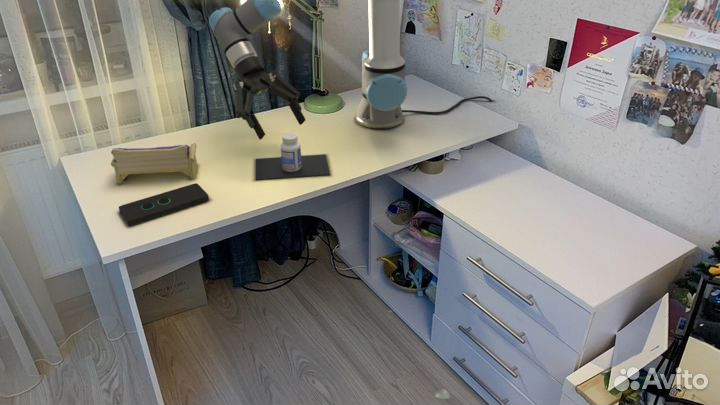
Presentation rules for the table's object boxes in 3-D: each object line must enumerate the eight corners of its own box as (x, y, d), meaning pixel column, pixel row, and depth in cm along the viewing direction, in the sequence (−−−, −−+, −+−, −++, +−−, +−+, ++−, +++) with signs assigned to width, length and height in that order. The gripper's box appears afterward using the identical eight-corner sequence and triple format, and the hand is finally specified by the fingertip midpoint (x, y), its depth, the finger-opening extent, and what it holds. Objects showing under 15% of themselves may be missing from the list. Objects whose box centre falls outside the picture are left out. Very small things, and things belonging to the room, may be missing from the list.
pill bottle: (294, 161, 159) (292, 129, 154) (305, 168, 156) (303, 136, 151) (278, 167, 156) (275, 135, 151) (289, 174, 153) (286, 142, 148)
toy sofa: (199, 164, 158) (194, 131, 153) (197, 179, 151) (191, 145, 146) (122, 169, 156) (113, 136, 150) (115, 185, 148) (106, 150, 143)
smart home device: (117, 205, 137) (196, 181, 147) (119, 211, 137) (197, 187, 147) (127, 221, 131) (209, 195, 141) (129, 227, 132) (210, 201, 142)
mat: (325, 155, 163) (325, 154, 163) (330, 175, 153) (330, 174, 153) (255, 159, 161) (255, 158, 161) (255, 180, 151) (255, 179, 151)
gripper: (277, 60, 164) (312, 122, 163) (201, 80, 149) (239, 149, 148) (287, 45, 158) (324, 110, 157) (209, 65, 143) (249, 137, 142)
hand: (283, 129), depth 153 cm, fingers open, 13 cm apart
